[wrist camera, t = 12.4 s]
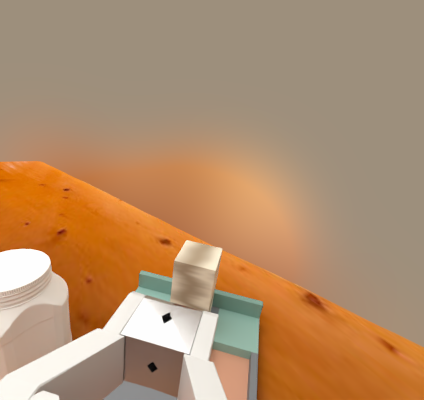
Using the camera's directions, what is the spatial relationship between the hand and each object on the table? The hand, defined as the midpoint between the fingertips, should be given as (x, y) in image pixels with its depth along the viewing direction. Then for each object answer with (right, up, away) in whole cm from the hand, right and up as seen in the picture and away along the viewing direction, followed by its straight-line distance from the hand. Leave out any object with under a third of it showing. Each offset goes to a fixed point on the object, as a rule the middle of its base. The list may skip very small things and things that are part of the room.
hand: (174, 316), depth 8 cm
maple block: (-2, -16, +35) cm, 38 cm away
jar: (-25, -18, +27) cm, 41 cm away
